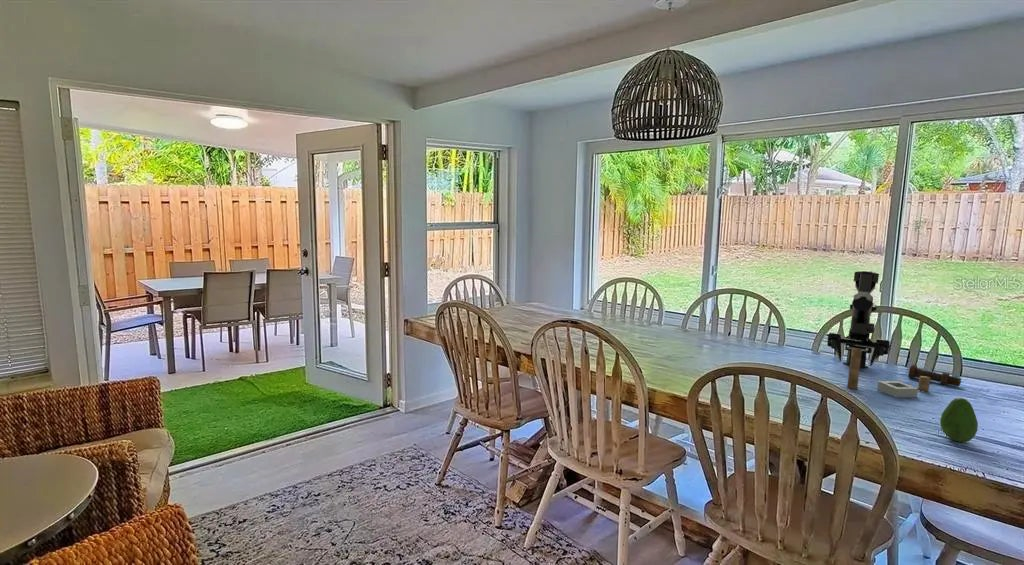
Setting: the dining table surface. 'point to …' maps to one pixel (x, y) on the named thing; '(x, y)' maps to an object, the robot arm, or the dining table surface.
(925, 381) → the short dowel
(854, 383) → the long dowel
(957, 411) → the avocado
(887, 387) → the hole block
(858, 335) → the robot arm
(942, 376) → the bolt
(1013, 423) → the dining table surface
